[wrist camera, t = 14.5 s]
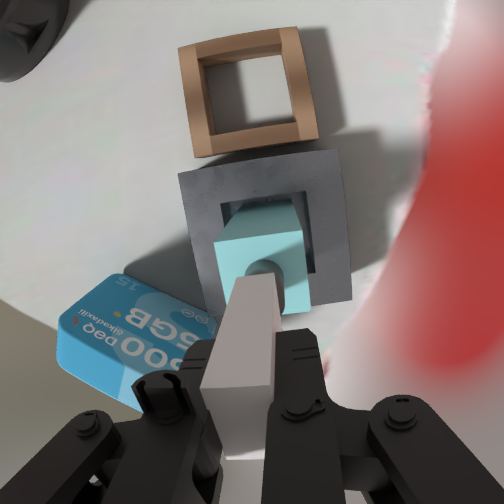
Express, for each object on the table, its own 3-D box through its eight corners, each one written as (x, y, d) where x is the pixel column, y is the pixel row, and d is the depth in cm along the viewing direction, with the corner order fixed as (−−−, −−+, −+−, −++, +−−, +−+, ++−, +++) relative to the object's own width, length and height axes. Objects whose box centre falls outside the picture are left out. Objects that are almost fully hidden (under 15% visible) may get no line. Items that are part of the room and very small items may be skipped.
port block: (194, 170, 27) (177, 173, 23) (327, 150, 26) (338, 148, 21) (218, 293, 31) (208, 317, 26) (341, 277, 29) (352, 299, 24)
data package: (220, 317, 31) (192, 395, 20) (205, 348, 33) (176, 428, 21) (117, 269, 31) (50, 321, 19) (109, 303, 32) (49, 361, 21)
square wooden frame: (187, 58, 24) (177, 48, 21) (294, 38, 23) (296, 26, 20) (203, 158, 27) (194, 158, 24) (314, 140, 26) (319, 138, 23)
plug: (240, 206, 27) (199, 261, 13) (291, 199, 26) (308, 247, 12) (248, 254, 28) (220, 351, 14) (297, 248, 28) (317, 341, 13)
